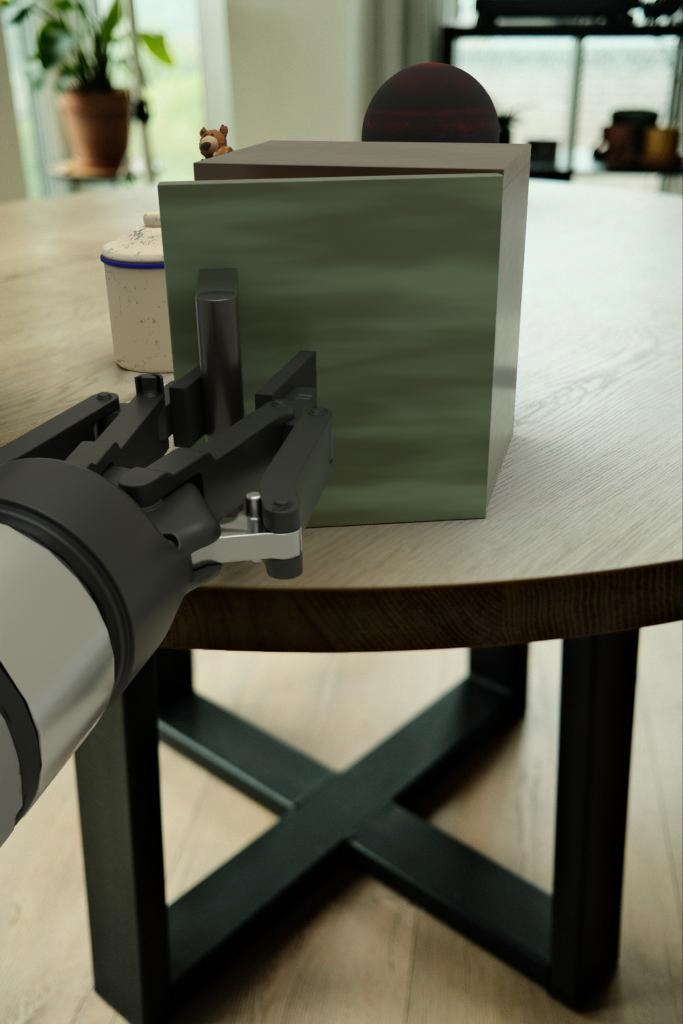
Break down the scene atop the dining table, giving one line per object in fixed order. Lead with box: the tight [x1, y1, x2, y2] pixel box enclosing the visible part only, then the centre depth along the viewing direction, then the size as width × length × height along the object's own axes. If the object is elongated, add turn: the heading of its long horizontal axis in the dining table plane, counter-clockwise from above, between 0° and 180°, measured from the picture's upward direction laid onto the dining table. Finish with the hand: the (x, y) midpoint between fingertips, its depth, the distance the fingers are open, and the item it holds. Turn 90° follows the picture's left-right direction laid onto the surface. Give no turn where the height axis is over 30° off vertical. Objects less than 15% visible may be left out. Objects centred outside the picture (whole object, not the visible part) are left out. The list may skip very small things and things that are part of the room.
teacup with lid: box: [99, 210, 174, 374], centre depth 82 cm, size 12×9×12 cm
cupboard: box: [192, 139, 532, 510], centre depth 59 cm, size 12×16×18 cm
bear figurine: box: [198, 124, 235, 161], centre depth 146 cm, size 14×15×12 cm
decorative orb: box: [361, 62, 500, 143], centre depth 148 cm, size 20×20×20 cm
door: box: [157, 173, 504, 528], centre depth 48 cm, size 7×16×18 cm, turn 96°
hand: (270, 375), depth 49 cm, fingers open, 3 cm apart
